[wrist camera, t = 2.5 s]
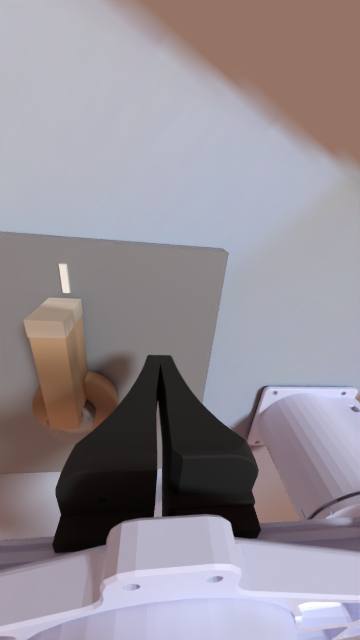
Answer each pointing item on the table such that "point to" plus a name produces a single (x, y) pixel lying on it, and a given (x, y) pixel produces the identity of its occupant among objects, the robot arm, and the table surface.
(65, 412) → the dial
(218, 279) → the dial plate
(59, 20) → the table surface
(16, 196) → the table surface
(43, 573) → the robot arm
